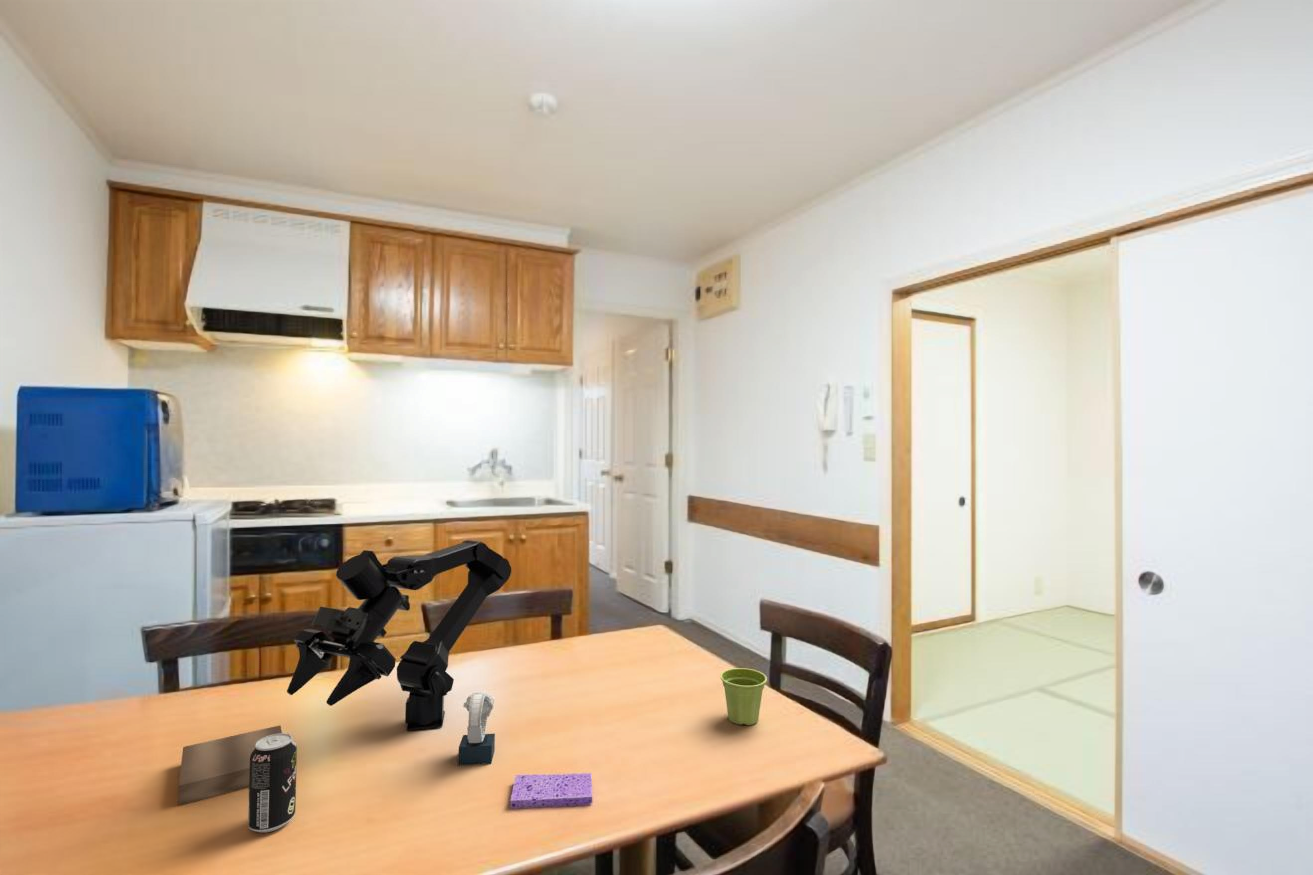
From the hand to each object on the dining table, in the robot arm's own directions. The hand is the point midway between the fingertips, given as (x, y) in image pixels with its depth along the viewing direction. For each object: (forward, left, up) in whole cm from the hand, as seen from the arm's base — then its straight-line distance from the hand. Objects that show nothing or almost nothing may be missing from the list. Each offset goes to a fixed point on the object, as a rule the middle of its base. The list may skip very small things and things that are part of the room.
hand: (308, 698), depth 95 cm
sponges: (-38, +10, -15) cm, 42 cm away
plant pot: (-78, -7, -15) cm, 79 cm away
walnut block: (+13, -9, -14) cm, 21 cm away
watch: (-26, -4, -15) cm, 30 cm away
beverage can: (+2, +8, -15) cm, 17 cm away
